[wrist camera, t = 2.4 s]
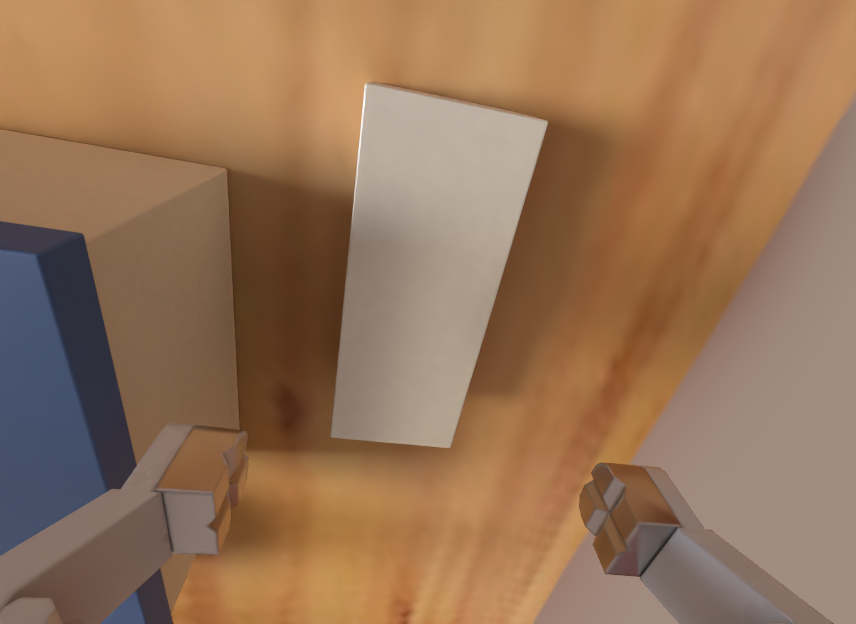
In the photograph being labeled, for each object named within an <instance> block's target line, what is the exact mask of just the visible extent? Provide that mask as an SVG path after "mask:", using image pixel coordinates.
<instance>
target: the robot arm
mask: <svg viewBox="0 0 856 624" xmlns="http://www.w3.org/2000/svg"><path fill="white" fill-rule="evenodd" d="M247 444H248V437H247V432H246V431H244V430H235V429H226V428H218V427H209V426H200V425H188V424H179V423H170V424H168V425H167V426H166V427H164V428H163V430H162V431H161V432H160V434H159V435H158V437H157V438H156V440H155V441H154V442H153V444H152V445H151V447H150V448H149V449H148V451H147V452H146V454H145V455H144V457H143V458H142V459H141V461H140V462H139V464H138V465H137V467H136V468H135V469H134V471H133V472H132V474H131V475H130V477H129V478H128V479H127V481H126V482H125V484H124V485H123V486H122V488H121V489H111V490H109V491H108V492H106V493H104V494H103V495H101V496H99V497H98V498H96V499H94V500H93V501H91V502H89V503H88V504H86V505H84V506H83V507H81V508H79V509H78V510H76V511H74V512H73V513H71V514H69V515H68V516H66V517H64V518H63V519H61V520H59V521H58V522H56V523H54V524H53V525H51V526H49V527H48V528H46V529H44V530H43V531H41V532H39V533H38V534H36V535H34V536H33V537H31V538H29V539H28V540H26V541H24V542H23V543H21V544H19V545H18V546H16V547H14V548H13V549H11V550H9V551H8V552H6V553H4V554H3V555H1V556H0V624H100V623H101V622H102V621H104V620H105V619H106V618H107V617H108V616H109V615H110V614H111V613H112V612H113V611H114V610H115V609H116V608H118V607H119V606H120V605H121V604H122V603H123V602H124V601H125V600H126V599H127V598H128V597H129V596H130V595H131V594H133V593H134V592H135V591H136V590H137V589H138V588H139V587H140V586H141V585H142V584H143V583H144V582H145V581H147V580H148V579H149V578H150V577H151V576H152V575H153V574H154V573H155V572H156V571H157V570H158V569H159V568H160V567H162V566H163V565H164V564H165V563H166V562H167V561H168V560H169V559H170V558H171V557H172V554H215V555H219V553H220V550H221V548H222V545H223V542H224V540H225V537H226V535H227V532H228V530H229V527H230V525H231V509H232V508H233V507H235V506H236V505H237V504H238V503H239V502H240V499H241V496H242V494H243V491H244V487H245V483H246V479H247V474H248V457H247V456H246V455H245V454H244V451H245V449H246V447H247ZM591 474H592V476H593V479H594V480H592V481H591V482H589V483H588V484H586V485H584V487H583V490H582V492H581V494H580V502H579V508H580V513H581V517H582V520H583V522H584V525H585V527H586V528H587V529H589V530H590V531H591V532H592V533H593V534H594V535H595V538H594V543H593V546H594V548H595V551H596V553H597V555H598V558H599V560H600V562H601V565H602V567H603V570H604V572H605V574H613V575H625V576H638V577H640V580H641V581H642V582H643V583H644V584H645V585H646V587H648V589H649V590H650V591H651V592H652V593H653V594H654V595H655V597H656V598H657V599H658V600H659V601H660V602H661V603H662V604H663V606H664V607H665V608H666V609H667V610H668V611H669V612H670V613H671V615H672V616H673V617H674V618H675V619H676V620H677V621H678V622H679V624H833V623H832V622H831V621H830V620H828V619H827V618H826V617H824V616H823V615H822V614H820V613H819V612H818V611H816V610H815V609H814V608H813V607H811V606H810V605H808V604H807V603H806V602H805V601H803V600H802V599H801V598H799V597H798V596H797V595H796V594H794V593H793V592H792V591H790V590H789V589H788V588H786V587H785V586H784V585H782V584H781V583H780V582H778V581H777V580H776V579H774V578H773V577H772V576H771V575H769V574H768V573H767V572H765V571H764V570H763V569H761V568H760V567H759V566H758V565H756V564H755V563H754V562H752V561H751V560H749V559H748V558H747V557H746V556H744V555H743V554H742V553H741V552H739V551H738V550H737V549H735V548H734V547H733V546H731V545H730V544H729V543H727V542H726V541H725V540H723V539H722V538H721V537H720V536H718V535H717V534H716V533H714V532H713V531H712V530H706V529H704V527H703V526H702V524H701V523H700V521H699V520H698V518H697V517H696V516H695V514H694V513H693V511H692V510H691V508H690V507H689V505H688V504H687V503H686V501H685V500H684V498H683V497H682V495H681V494H680V492H679V491H678V490H677V488H676V487H675V485H674V484H673V482H672V481H671V479H670V478H669V477H668V475H667V474H666V472H665V471H663V470H662V469H661V468H659V467H649V466H637V465H626V464H614V463H599V464H597V465H596V466H595V467H594V469H593V471H592V472H591Z"/></svg>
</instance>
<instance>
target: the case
mask: <svg viewBox="0 0 856 624" xmlns="http://www.w3.org/2000/svg"><path fill="white" fill-rule="evenodd" d="M547 126H548V121H547V120H543V119H539V118H536V117H532V116H529V115H525V114H522V113H518V112H514V111H510V110H505V109H500V108H495V107H491V106H486V105H481V104H477V103H472V102H467V101H462V100H458V99H453V98H448V97H444V96H439V95H434V94H429V93H425V92H420V91H415V90H411V89H406V88H401V87H396V86H392V85H387V84H382V83H378V82H371V83H366V84H365V89H364V99H363V110H362V120H361V130H360V140H359V150H358V160H357V170H356V181H355V191H354V201H353V211H352V221H351V231H350V241H349V252H348V262H347V272H346V282H345V292H344V302H343V312H342V323H341V333H340V343H339V353H338V363H337V373H336V383H335V394H334V404H333V414H332V424H331V434H330V436H331V438H341V439H352V440H363V441H374V442H386V443H397V444H408V445H419V446H431V447H442V448H450V447H451V444H452V441H453V438H454V434H455V431H456V428H457V425H458V421H459V418H460V415H461V411H462V408H463V405H464V401H465V398H466V395H467V391H468V388H469V385H470V381H471V378H472V375H473V371H474V368H475V365H476V361H477V358H478V355H479V352H480V348H481V345H482V342H483V338H484V335H485V332H486V328H487V325H488V322H489V318H490V315H491V312H492V308H493V305H494V302H495V298H496V295H497V292H498V288H499V285H500V282H501V279H502V275H503V272H504V269H505V265H506V262H507V259H508V255H509V252H510V249H511V245H512V242H513V239H514V235H515V232H516V229H517V225H518V222H519V219H520V215H521V212H522V209H523V206H524V202H525V199H526V196H527V192H528V189H529V186H530V182H531V179H532V176H533V172H534V169H535V166H536V162H537V159H538V156H539V152H540V149H541V146H542V142H543V139H544V136H545V133H546V129H547Z"/></svg>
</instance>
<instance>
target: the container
mask: <svg viewBox="0 0 856 624" xmlns="http://www.w3.org/2000/svg"><path fill="white" fill-rule="evenodd" d="M170 423H179V424H188V425H200V426H209V427H218V428H226V429H235V430H240V424H239V404H238V384H237V364H236V343H235V323H234V303H233V282H232V262H231V242H230V222H229V201H228V181H227V169H225V168H221V167H215V166H210V165H204V164H198V163H192V162H187V161H181V160H175V159H169V158H164V157H158V156H152V155H146V154H141V153H135V152H129V151H123V150H118V149H112V148H106V147H100V146H95V145H89V144H83V143H77V142H72V141H66V140H60V139H54V138H49V137H43V136H37V135H31V134H26V133H20V132H14V131H8V130H3V129H0V556H1V555H3V554H4V553H6V552H8V551H9V550H11V549H13V548H14V547H16V546H18V545H19V544H21V543H23V542H24V541H26V540H28V539H29V538H31V537H33V536H34V535H36V534H38V533H39V532H41V531H43V530H44V529H46V528H48V527H49V526H51V525H53V524H54V523H56V522H58V521H59V520H61V519H63V518H64V517H66V516H68V515H69V514H71V513H73V512H74V511H76V510H78V509H79V508H81V507H83V506H84V505H86V504H88V503H89V502H91V501H93V500H94V499H96V498H98V497H99V496H101V495H103V494H104V493H106V492H108V491H109V490H111V489H121V488H122V486H123V485H124V484H125V482H126V481H127V479H128V478H129V477H130V475H131V474H132V472H133V471H134V469H135V468H136V467H137V465H138V464H139V462H140V461H141V459H142V458H143V457H144V455H145V454H146V452H147V451H148V449H149V448H150V447H151V445H152V444H153V442H154V441H155V440H156V438H157V437H158V435H159V434H160V432H161V431H162V430H163V428H164V427H166V426H167V425H168V424H170ZM195 556H196V554H172V557H171V558H170V559H169V560H168V561H167V562H166V563H165V564H164V565H163V566H162V567H160V568H159V569H158V570H157V571H156V572H155V573H154V574H153V575H152V576H151V577H150V578H149V579H148V580H147V581H145V582H144V583H143V584H142V585H141V586H140V587H139V588H138V589H137V590H136V591H135V592H134V593H133V594H131V595H130V596H129V597H128V598H127V599H126V600H125V601H124V602H123V603H122V604H121V605H120V606H119V607H118V608H116V609H115V610H114V611H113V612H112V613H111V614H110V615H109V616H108V617H107V618H106V619H105V620H104V621H102V622H101V623H100V624H173V621H172V616H171V612H172V609H173V607H174V605H175V603H176V600H177V598H178V596H179V593H180V591H181V589H182V586H183V584H184V582H185V579H186V577H187V575H188V572H189V570H190V568H191V565H192V563H193V561H194V559H195Z"/></svg>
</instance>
